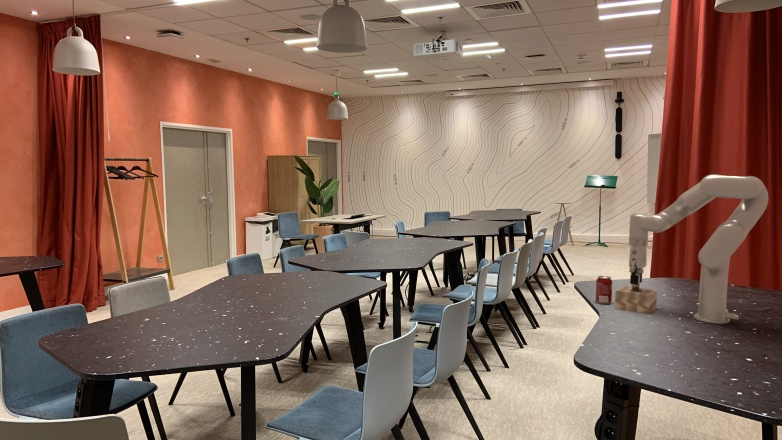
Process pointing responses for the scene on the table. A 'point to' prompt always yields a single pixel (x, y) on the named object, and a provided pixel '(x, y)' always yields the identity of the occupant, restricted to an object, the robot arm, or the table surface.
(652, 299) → the block
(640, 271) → the pin
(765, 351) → the table surface
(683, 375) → the table surface
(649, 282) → the table surface
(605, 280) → the soda can
